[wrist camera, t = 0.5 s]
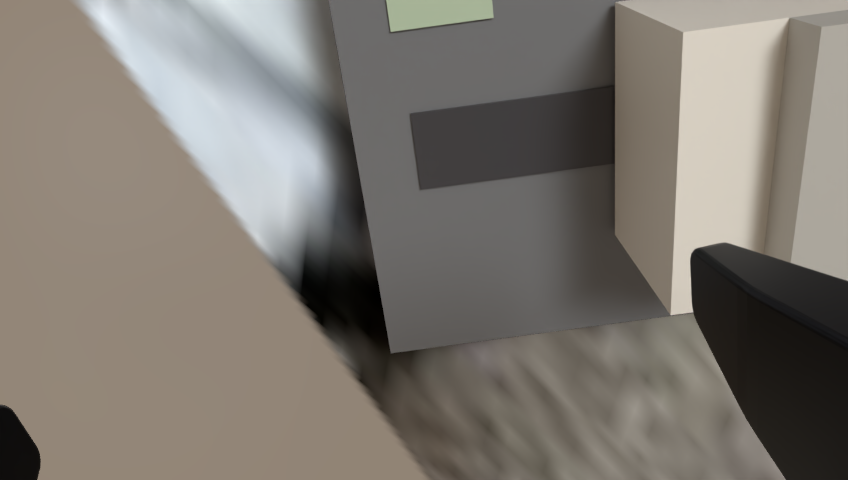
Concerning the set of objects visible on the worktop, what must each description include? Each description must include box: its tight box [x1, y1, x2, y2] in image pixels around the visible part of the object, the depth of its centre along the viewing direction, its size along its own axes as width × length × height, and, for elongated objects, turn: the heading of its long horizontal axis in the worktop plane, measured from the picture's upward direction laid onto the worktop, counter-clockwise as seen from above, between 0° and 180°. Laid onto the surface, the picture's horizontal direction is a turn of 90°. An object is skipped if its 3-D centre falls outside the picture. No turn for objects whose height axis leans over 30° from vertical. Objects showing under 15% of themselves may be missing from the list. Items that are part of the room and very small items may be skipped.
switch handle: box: [615, 0, 848, 315], centre depth 15 cm, size 6×5×5 cm
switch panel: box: [329, 0, 694, 353], centre depth 19 cm, size 12×18×3 cm, turn 97°
